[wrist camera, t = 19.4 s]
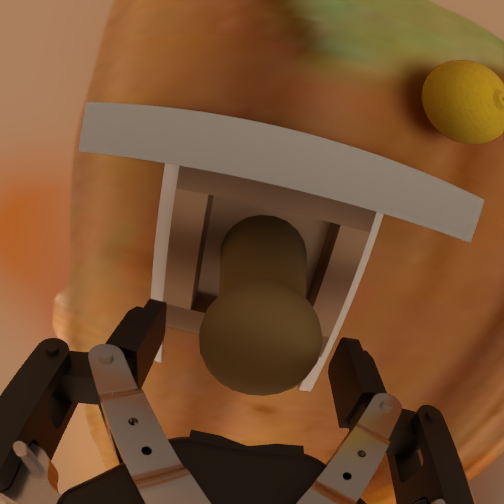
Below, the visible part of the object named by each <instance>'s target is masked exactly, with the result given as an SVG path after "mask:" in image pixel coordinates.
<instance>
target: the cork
mask: <svg viewBox="0 0 504 504" xmlns="http://www.w3.org/2000/svg"><path fill="white" fill-rule="evenodd" d="M306 271H307V252H306V247H305V242H304V240H303V238H302V237H301V235H300V233H299V232H298V230H297V229H296V228H295V227H293V226H292V225H291V224H290V223H289V222H288V221H285V220H283V219H281V218H278V217H276V216H270V215H256V216H252V217H248V218H245V219H243V220H242V221H240V222H238V223H237V224H235V225H234V226H233V227H232V228H231V229H230V231H229V232H228V233H227V234H226V235H225V238H224V241H223V243H222V246H221V258H220V285H219V296H218V297H217V298H216V299H215V301H214V302H213V303H212V304H211V305H210V306H209V307H208V308H207V311H206V313H205V316H204V319H203V321H202V324H201V327H200V329H199V339H200V354H201V356H202V358H203V360H204V362H205V364H206V367H207V368H208V370H209V371H210V373H211V374H212V375H213V376H214V377H215V378H216V379H217V380H218V381H219V382H220V383H222V384H223V385H225V386H227V387H229V388H230V389H232V390H235V391H238V392H241V393H245V394H249V395H263V396H264V395H271V394H278V393H281V392H284V391H286V390H289V389H291V388H294V387H295V386H296V385H298V384H299V383H300V382H302V381H303V380H305V378H306V377H307V376H308V375H309V373H310V372H311V370H312V369H313V368H314V366H315V365H316V364H317V362H318V359H319V355H320V351H321V347H322V340H323V339H322V332H321V326H320V322H319V318H318V316H317V314H316V312H315V311H314V309H313V307H312V306H311V304H310V303H309V301H308V300H307V299H306Z"/></svg>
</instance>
